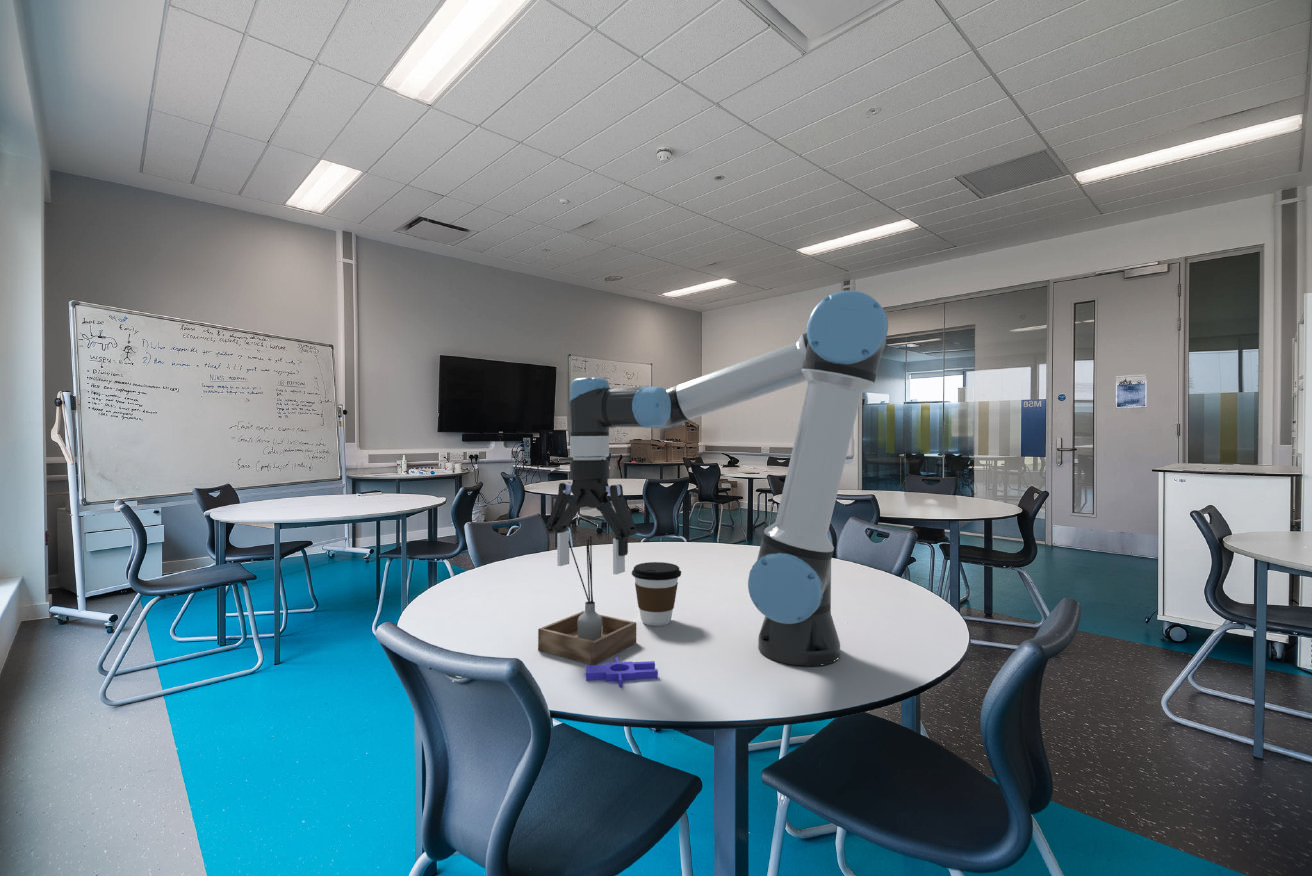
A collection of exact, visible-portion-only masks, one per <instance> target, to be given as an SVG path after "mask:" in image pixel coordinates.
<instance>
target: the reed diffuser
mask: <svg viewBox="0 0 1312 876" xmlns="http://www.w3.org/2000/svg"><path fill="white" fill-rule="evenodd" d="M592 540H593V539H592V536H591V535H590V537H589V538H588V539H587V544H586V566H587V590H588V592H587V590H586V587H585V584H584V580H583V577H582V575H581V572H580V571H581V570H580V569H579V565H578V563H577V559H576V556H575V554H574V551H573V548H572V545H571V542H570V540H569V541H568V543H569V550H570V551H571V554H572V557H573V561H574V564H575V566H576V569H577V572H578V575H579V579H580V581H581V584H582V587H583V591H584V594H585V596H586V599H587V601H585V602H584V604H585V607H584V611H585V612H584V613H583V614H582V615H580V616H579V618H578V637H579V638H583V639H587V640H592V641H595V640H597V639H599V638H601V637H602V635H603V624H602V618H601V616H600V615H601V614H599V613H598V612H596V602H595V601H594V598H593V597H594V596H593V559H592V558H593V555H592V554H593V553H592V552H593V551H592V549H593V547H592V545H593V544H592Z"/></svg>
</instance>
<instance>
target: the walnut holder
mask: <svg viewBox="0 0 1312 876" xmlns="http://www.w3.org/2000/svg"><path fill="white" fill-rule="evenodd" d="M584 612H585V610H584V611H580V612H578V613H575V614H573V615H570V616H567V617H565V618H562V619H559V620H558V621H555V622H552V623H550V624H547V625H546V626H541V627H540V628H538V629H537V635H538V636H537V642H538V643H537V646H538V647H537V650H538V651H541V652H545V653H547V654H548V653H549V654H551V655H555V656H559V657H562V658H567V659H569V660H572V661H576V662H580V663H583V664H587V665H599V663H602V662H604V661H605V660H608V659H609V658H610V657H613V656H615V655H616V654H618V653H620V652H622V651H623V650H626V649H627V648H629V647H631V646H633V645H635V644H637V622H636V621H632V620H627V619H621V618H618V617H613V616H612V617H611V616H609V615H603V614H599V615H600V616H601V618H602V624H603V635H602V637H601V638H599V639H597V640H595V641H592V640H587V639H583V638H579V637H578V618H579V616H580V615H582V614H583V613H584Z"/></svg>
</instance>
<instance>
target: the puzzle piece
mask: <svg viewBox="0 0 1312 876" xmlns="http://www.w3.org/2000/svg"><path fill="white" fill-rule="evenodd" d="M658 678H659V670H658V669H657V668H656V662H655V661H654V660H650V661H649V660H648V661H619V658H618V656H614V661H613V662H612V661H611V662H604V664H596V665H590V664H587V665H585V681H604V680H605V682H610V683H611V682H618V687H619V688H623V682H625V681H636V680H653V679H656V680H657V679H658Z"/></svg>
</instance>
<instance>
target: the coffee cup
mask: <svg viewBox="0 0 1312 876" xmlns="http://www.w3.org/2000/svg"><path fill="white" fill-rule="evenodd" d="M631 575H632V577H634V580H635V582H634V586H635V594H636V600H637V607H638V609H639V614H640V619H641V622H642V623H643V624H644V625H647V626H652V627H660V626H666V624H667V625H668V624H669V623H670V622H671V620H672V617H673V610H674V608H675V602H676V596H677V592H678V591H677V589H678V584H679V582H678V580H679V579H678V578H680V577H682V576H681V575H682V571H681V570H680V566H678V565H677V564H674V563H672V562H671V563H670V562H664V561H663V562H661V561H659V562H658V561H656V562H653V561H651V562H643V563H637V564H635V566H634V567H633V569H632V571H631Z"/></svg>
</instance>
